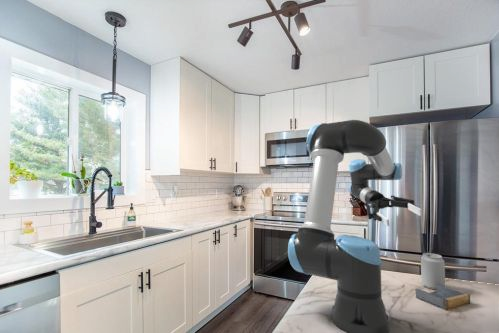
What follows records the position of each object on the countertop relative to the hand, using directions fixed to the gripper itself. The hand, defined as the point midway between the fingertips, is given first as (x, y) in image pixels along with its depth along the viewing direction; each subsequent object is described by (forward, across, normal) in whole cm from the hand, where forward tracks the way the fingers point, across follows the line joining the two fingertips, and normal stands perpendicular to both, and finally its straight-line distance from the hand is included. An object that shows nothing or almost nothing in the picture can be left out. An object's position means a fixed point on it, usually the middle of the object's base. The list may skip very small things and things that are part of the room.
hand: (404, 217), depth 103 cm
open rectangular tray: (+19, +2, -22) cm, 29 cm away
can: (+9, -3, -27) cm, 28 cm away
